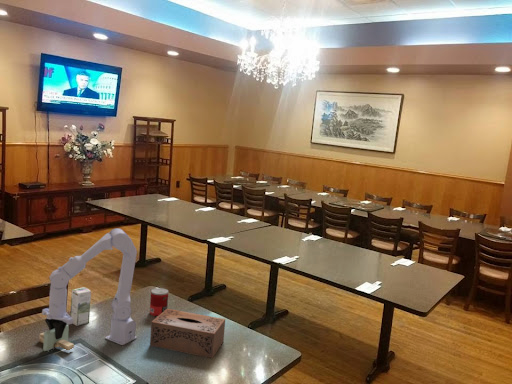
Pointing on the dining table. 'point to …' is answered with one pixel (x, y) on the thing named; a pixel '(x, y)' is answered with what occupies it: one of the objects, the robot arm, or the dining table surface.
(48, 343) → the cross plate
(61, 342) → the slotted rail
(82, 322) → the syrup box
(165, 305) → the canned food
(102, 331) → the dining table surface
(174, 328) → the tissue box cover
